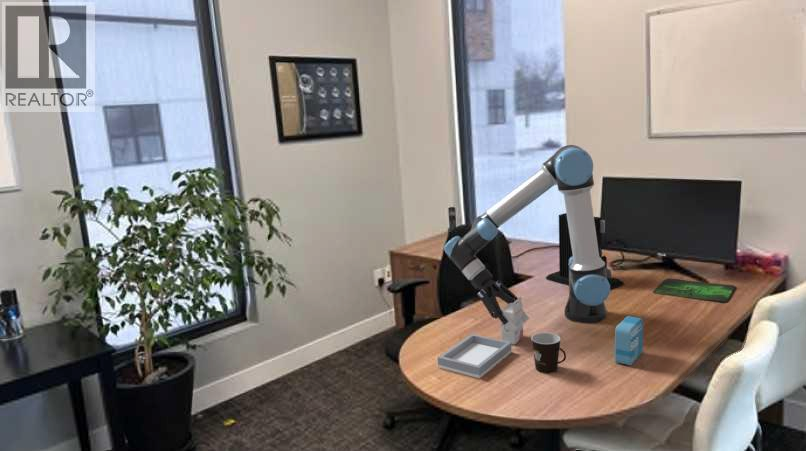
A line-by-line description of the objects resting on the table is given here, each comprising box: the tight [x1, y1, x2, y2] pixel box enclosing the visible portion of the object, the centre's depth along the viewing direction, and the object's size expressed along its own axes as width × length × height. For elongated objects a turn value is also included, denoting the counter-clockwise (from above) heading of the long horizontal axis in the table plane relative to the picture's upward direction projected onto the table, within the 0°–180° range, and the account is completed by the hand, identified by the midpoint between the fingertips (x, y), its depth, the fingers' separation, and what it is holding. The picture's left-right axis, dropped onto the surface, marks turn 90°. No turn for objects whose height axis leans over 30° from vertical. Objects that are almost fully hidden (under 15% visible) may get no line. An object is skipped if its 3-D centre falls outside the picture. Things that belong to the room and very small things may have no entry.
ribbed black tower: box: [545, 212, 625, 291], centre depth 251 cm, size 30×19×30 cm, turn 34°
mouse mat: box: [652, 278, 737, 304], centre depth 233 cm, size 27×22×1 cm
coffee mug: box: [530, 332, 567, 374], centre depth 173 cm, size 12×9×10 cm
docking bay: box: [437, 333, 513, 379], centre depth 185 cm, size 15×21×4 cm
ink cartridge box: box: [500, 296, 524, 345], centre depth 197 cm, size 9×5×15 cm, turn 148°
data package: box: [614, 315, 644, 366], centre depth 177 cm, size 12×4×12 cm, turn 140°
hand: (520, 325), depth 195 cm, fingers closed on ink cartridge box, 9 cm apart
